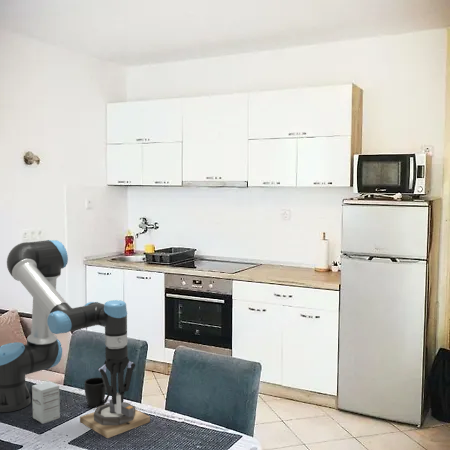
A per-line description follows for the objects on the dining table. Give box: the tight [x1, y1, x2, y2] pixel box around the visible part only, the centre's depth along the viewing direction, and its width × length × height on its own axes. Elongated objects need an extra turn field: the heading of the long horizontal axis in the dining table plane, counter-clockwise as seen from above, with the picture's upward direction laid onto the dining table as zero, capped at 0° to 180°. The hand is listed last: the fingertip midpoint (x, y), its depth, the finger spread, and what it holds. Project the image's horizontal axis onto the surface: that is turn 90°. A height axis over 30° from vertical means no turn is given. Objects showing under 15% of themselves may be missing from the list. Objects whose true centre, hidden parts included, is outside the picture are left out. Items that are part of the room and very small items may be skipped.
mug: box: [84, 377, 111, 408], centre depth 212 cm, size 8×12×10 cm
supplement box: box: [31, 380, 61, 425], centre depth 201 cm, size 7×7×13 cm
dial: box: [101, 398, 133, 417], centre depth 196 cm, size 15×10×6 cm, turn 45°
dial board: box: [79, 401, 151, 439], centre depth 198 cm, size 18×18×4 cm
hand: (117, 412), depth 190 cm, fingers closed
